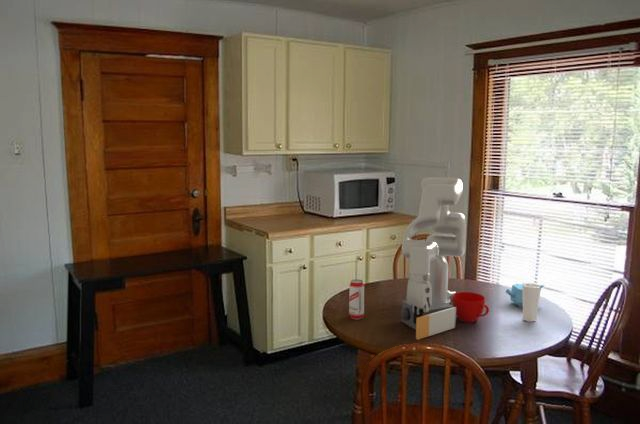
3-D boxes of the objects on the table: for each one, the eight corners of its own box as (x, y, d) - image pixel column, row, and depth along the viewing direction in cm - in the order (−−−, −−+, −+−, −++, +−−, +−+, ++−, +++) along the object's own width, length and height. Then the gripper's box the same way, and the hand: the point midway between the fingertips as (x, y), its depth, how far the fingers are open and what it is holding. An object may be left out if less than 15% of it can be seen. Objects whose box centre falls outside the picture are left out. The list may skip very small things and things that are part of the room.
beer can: (355, 313, 234) (356, 278, 232) (366, 317, 230) (367, 281, 227) (346, 317, 230) (346, 281, 227) (357, 321, 225) (357, 284, 223)
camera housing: (431, 316, 231) (432, 294, 229) (452, 327, 218) (453, 304, 217) (398, 322, 224) (399, 299, 223) (418, 333, 212) (418, 309, 210)
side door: (453, 326, 218) (454, 306, 217) (456, 327, 217) (456, 307, 216) (415, 338, 206) (416, 317, 204) (417, 339, 205) (418, 318, 204)
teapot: (511, 310, 239) (512, 288, 237) (498, 300, 253) (499, 279, 251) (550, 309, 241) (551, 287, 239) (535, 299, 254) (536, 278, 253)
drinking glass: (530, 323, 222) (532, 288, 220) (517, 318, 228) (519, 284, 226) (541, 321, 226) (544, 286, 223) (528, 316, 231) (530, 282, 229)
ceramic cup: (476, 330, 215) (477, 306, 214) (445, 317, 230) (446, 295, 228) (498, 324, 222) (499, 300, 221) (466, 312, 236) (467, 290, 235)
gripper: (440, 280, 202) (438, 327, 204) (413, 271, 214) (412, 315, 217) (425, 283, 198) (423, 331, 201) (399, 273, 210) (397, 319, 213)
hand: (417, 323), depth 209 cm, fingers closed
